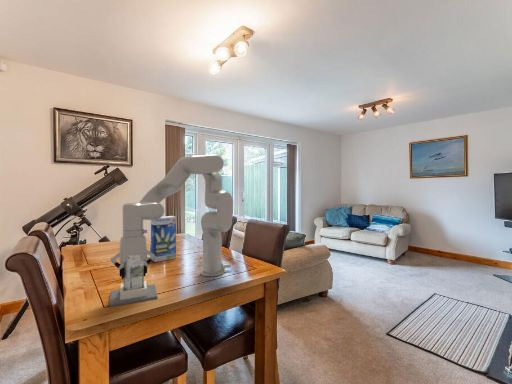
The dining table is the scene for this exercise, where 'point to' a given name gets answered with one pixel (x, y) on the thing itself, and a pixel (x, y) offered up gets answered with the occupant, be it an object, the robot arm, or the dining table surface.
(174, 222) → the string lights box
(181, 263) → the dining table surface
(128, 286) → the syrup box
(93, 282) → the dining table surface
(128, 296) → the collar holder
